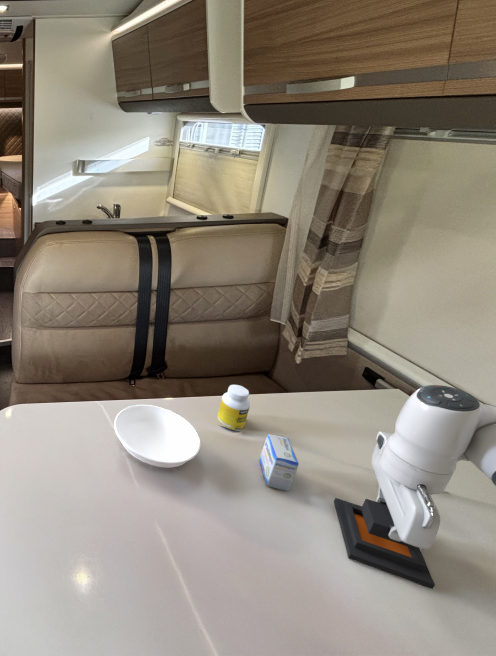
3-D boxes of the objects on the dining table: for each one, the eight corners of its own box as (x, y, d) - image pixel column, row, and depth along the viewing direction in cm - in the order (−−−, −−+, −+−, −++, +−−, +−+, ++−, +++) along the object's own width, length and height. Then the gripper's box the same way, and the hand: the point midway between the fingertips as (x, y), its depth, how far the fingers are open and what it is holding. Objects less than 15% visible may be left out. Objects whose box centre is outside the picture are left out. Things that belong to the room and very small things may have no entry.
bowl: (207, 488, 96) (212, 467, 94) (116, 478, 99) (119, 457, 97) (183, 427, 114) (187, 408, 112) (107, 419, 117) (109, 401, 115)
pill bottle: (229, 436, 111) (238, 400, 106) (210, 419, 117) (218, 384, 112) (249, 431, 112) (259, 395, 108) (230, 415, 118) (238, 380, 114)
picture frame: (406, 525, 87) (411, 515, 86) (432, 589, 76) (438, 579, 75) (333, 501, 93) (337, 492, 92) (348, 558, 81) (352, 548, 80)
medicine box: (258, 460, 103) (266, 432, 100) (279, 465, 102) (288, 437, 99) (266, 486, 96) (275, 457, 93) (289, 492, 95) (299, 462, 92)
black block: (399, 521, 84) (404, 510, 83) (409, 547, 79) (415, 536, 78) (360, 508, 86) (365, 498, 85) (368, 533, 82) (373, 522, 80)
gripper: (463, 520, 67) (430, 578, 72) (417, 436, 84) (392, 488, 89) (410, 504, 70) (382, 560, 75) (375, 426, 86) (354, 476, 92)
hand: (387, 520), depth 82 cm, fingers closed on black block, 6 cm apart
